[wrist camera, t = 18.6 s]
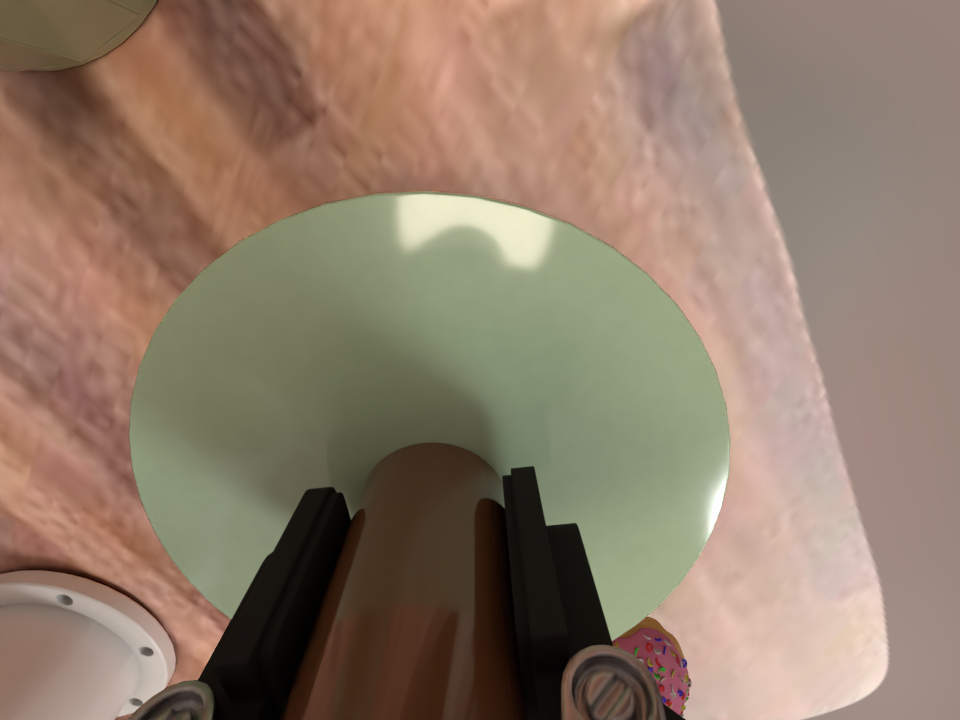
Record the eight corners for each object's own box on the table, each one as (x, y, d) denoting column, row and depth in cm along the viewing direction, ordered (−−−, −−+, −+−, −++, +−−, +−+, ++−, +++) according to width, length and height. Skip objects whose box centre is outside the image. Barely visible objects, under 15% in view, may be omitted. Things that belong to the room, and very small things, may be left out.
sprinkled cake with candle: (610, 523, 24) (719, 822, 13) (680, 610, 27) (818, 919, 16) (483, 588, 26) (484, 895, 15) (559, 664, 29) (607, 970, 18)
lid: (259, 670, 15) (94, 1049, 9) (51, 232, 10) (-886, 361, 3) (689, 632, 15) (863, 1003, 8) (738, 147, 9) (1437, 75, 2)
